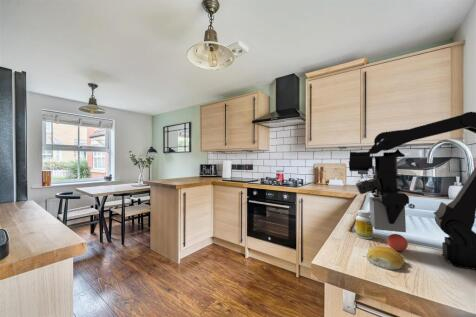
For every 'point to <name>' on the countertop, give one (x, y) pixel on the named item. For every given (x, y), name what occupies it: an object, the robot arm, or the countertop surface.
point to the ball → (397, 242)
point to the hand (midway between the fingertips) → (388, 219)
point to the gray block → (385, 217)
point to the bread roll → (385, 258)
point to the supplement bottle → (364, 225)
